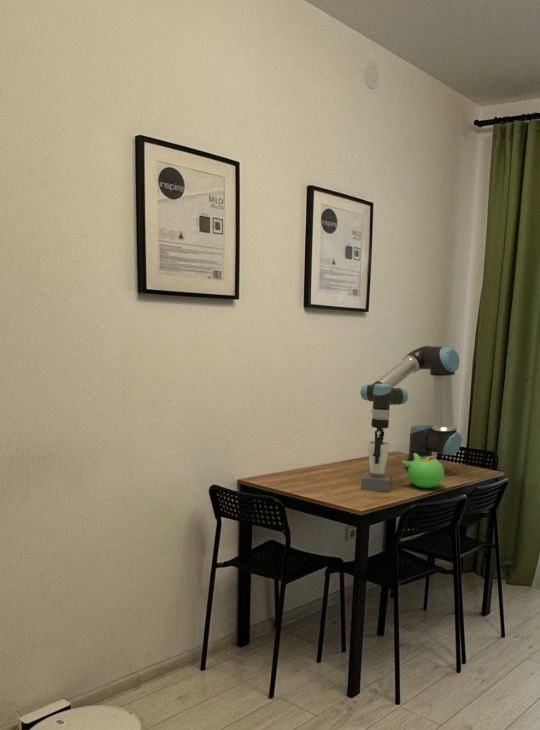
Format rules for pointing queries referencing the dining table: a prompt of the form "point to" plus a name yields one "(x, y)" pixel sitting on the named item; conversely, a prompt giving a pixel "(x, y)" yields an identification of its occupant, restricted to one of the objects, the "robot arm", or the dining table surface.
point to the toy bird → (425, 471)
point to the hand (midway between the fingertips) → (377, 468)
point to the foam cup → (382, 456)
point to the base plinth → (376, 482)
